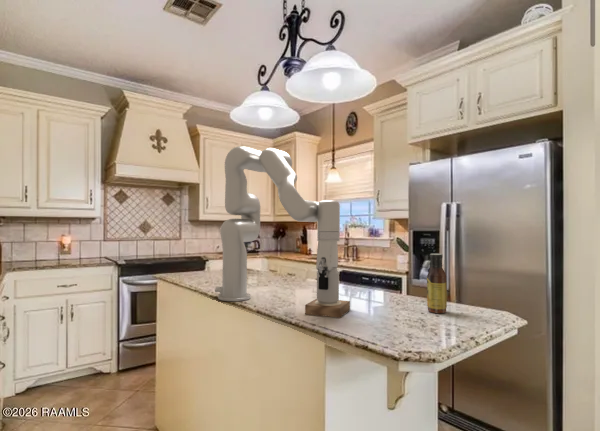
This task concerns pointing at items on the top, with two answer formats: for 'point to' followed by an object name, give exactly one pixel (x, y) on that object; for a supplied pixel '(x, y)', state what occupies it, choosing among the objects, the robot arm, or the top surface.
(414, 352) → the top surface
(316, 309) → the base
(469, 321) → the top surface
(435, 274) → the sauce bottle
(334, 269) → the can
